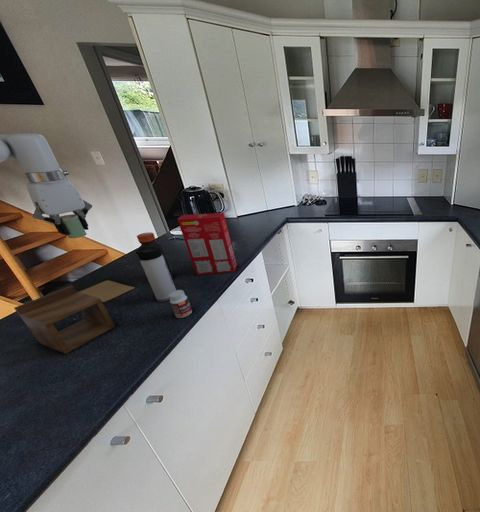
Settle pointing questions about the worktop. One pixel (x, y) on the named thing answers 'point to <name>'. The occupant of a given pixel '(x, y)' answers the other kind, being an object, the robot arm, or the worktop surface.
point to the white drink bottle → (151, 245)
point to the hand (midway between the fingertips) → (75, 231)
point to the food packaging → (208, 243)
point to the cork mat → (107, 290)
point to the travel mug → (156, 272)
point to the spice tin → (73, 226)
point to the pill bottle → (180, 304)
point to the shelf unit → (59, 307)
